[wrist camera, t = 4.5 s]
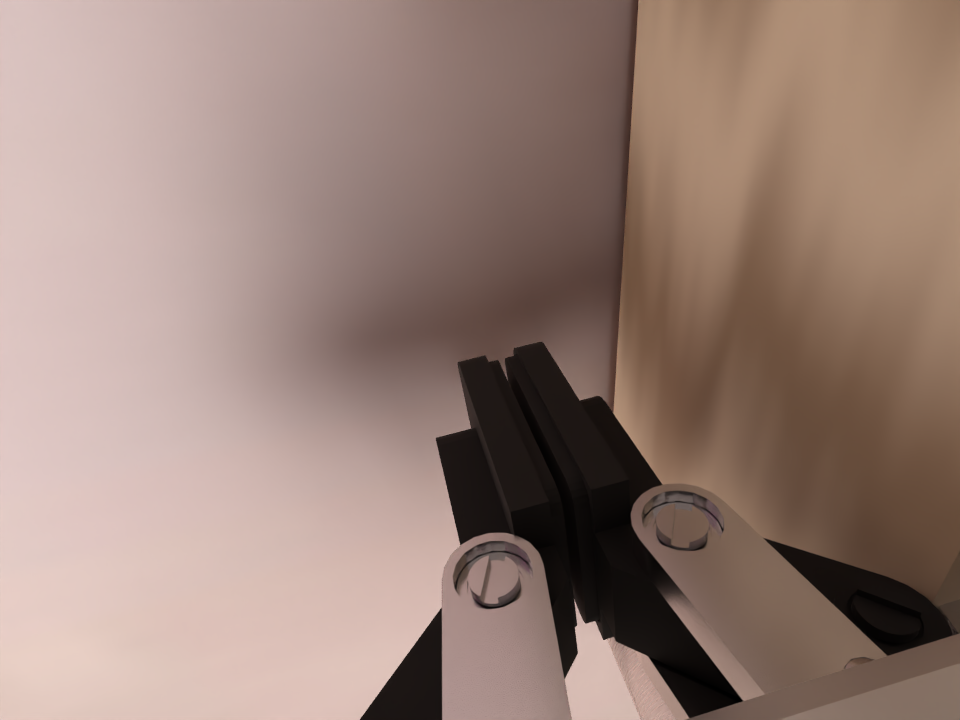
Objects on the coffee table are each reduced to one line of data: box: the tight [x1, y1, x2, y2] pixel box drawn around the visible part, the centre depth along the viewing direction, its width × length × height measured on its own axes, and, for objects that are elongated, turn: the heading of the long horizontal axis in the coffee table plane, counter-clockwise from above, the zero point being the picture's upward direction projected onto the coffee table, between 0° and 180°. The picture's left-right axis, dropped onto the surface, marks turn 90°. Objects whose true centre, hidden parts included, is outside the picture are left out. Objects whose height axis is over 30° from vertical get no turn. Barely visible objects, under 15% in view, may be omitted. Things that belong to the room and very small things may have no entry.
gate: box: [613, 0, 960, 609], centre depth 10 cm, size 20×2×8 cm, turn 4°
